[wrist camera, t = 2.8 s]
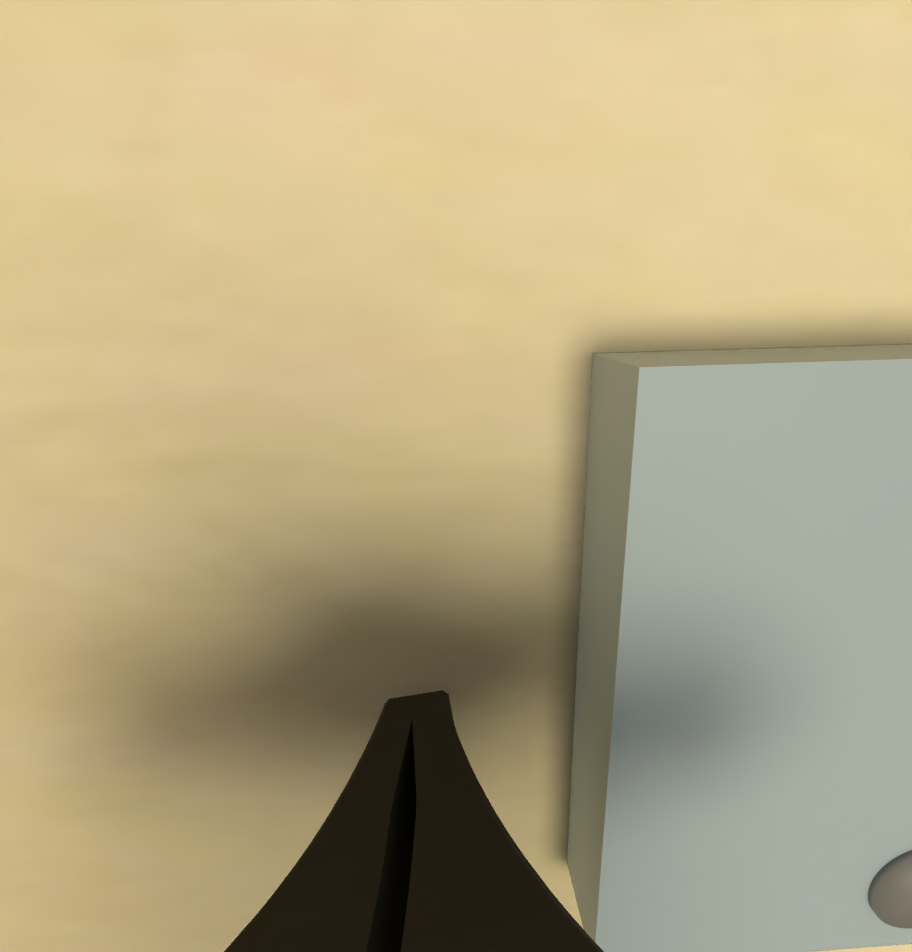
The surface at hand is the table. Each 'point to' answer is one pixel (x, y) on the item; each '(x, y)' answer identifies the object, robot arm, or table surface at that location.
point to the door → (745, 652)
